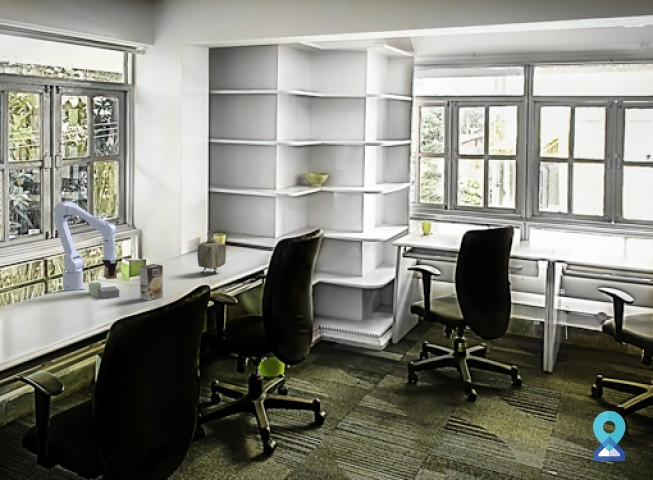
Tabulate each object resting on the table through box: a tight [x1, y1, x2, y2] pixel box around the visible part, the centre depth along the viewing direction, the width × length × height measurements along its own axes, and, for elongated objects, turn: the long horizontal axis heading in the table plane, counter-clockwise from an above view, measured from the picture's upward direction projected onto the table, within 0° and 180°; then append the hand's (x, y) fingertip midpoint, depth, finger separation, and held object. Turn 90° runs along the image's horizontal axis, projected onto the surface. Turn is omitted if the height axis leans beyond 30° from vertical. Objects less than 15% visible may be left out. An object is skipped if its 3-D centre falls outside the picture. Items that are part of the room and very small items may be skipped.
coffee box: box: [139, 263, 164, 302], centre depth 350 cm, size 9×6×16 cm
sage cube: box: [88, 282, 102, 296], centre depth 357 cm, size 5×5×5 cm
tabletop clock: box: [196, 229, 227, 275], centre depth 405 cm, size 14×9×25 cm, turn 145°
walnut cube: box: [103, 266, 118, 280], centre depth 361 cm, size 5×5×5 cm
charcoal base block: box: [98, 286, 120, 300], centre depth 353 cm, size 8×8×4 cm
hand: (110, 274), depth 361 cm, fingers closed on walnut cube, 5 cm apart
